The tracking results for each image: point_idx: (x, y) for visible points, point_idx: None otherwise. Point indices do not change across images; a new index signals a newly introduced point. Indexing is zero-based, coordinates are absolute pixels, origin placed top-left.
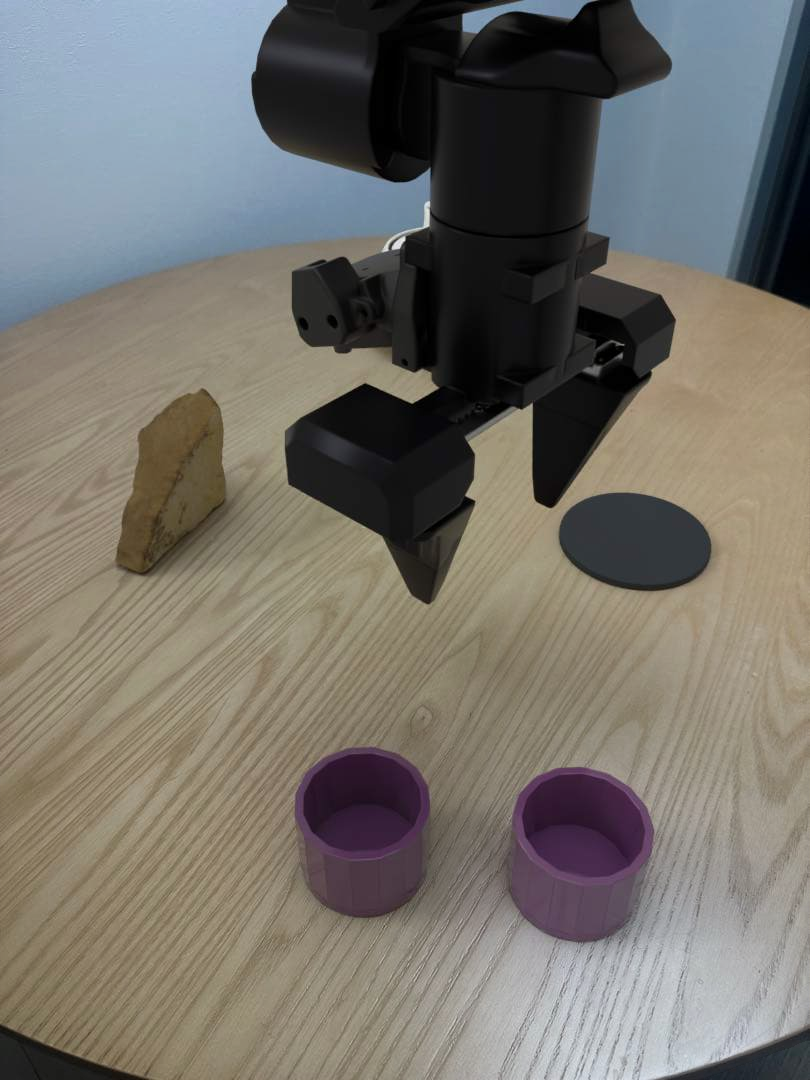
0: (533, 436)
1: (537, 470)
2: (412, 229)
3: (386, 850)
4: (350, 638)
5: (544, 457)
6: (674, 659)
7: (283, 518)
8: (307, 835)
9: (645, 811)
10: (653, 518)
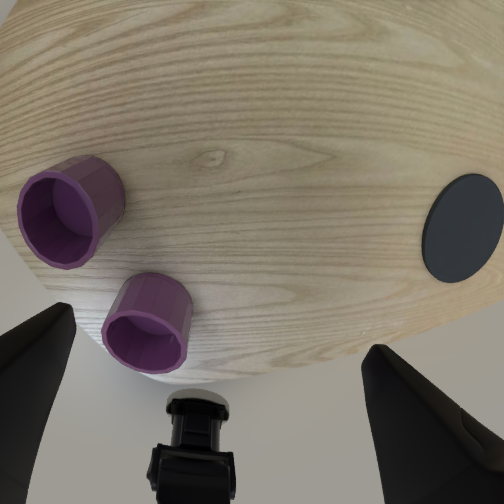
0: (435, 419)
1: (396, 385)
2: None
3: (43, 258)
4: (266, 50)
5: (404, 414)
6: (362, 295)
7: None
8: (18, 208)
9: (175, 367)
10: (484, 237)
